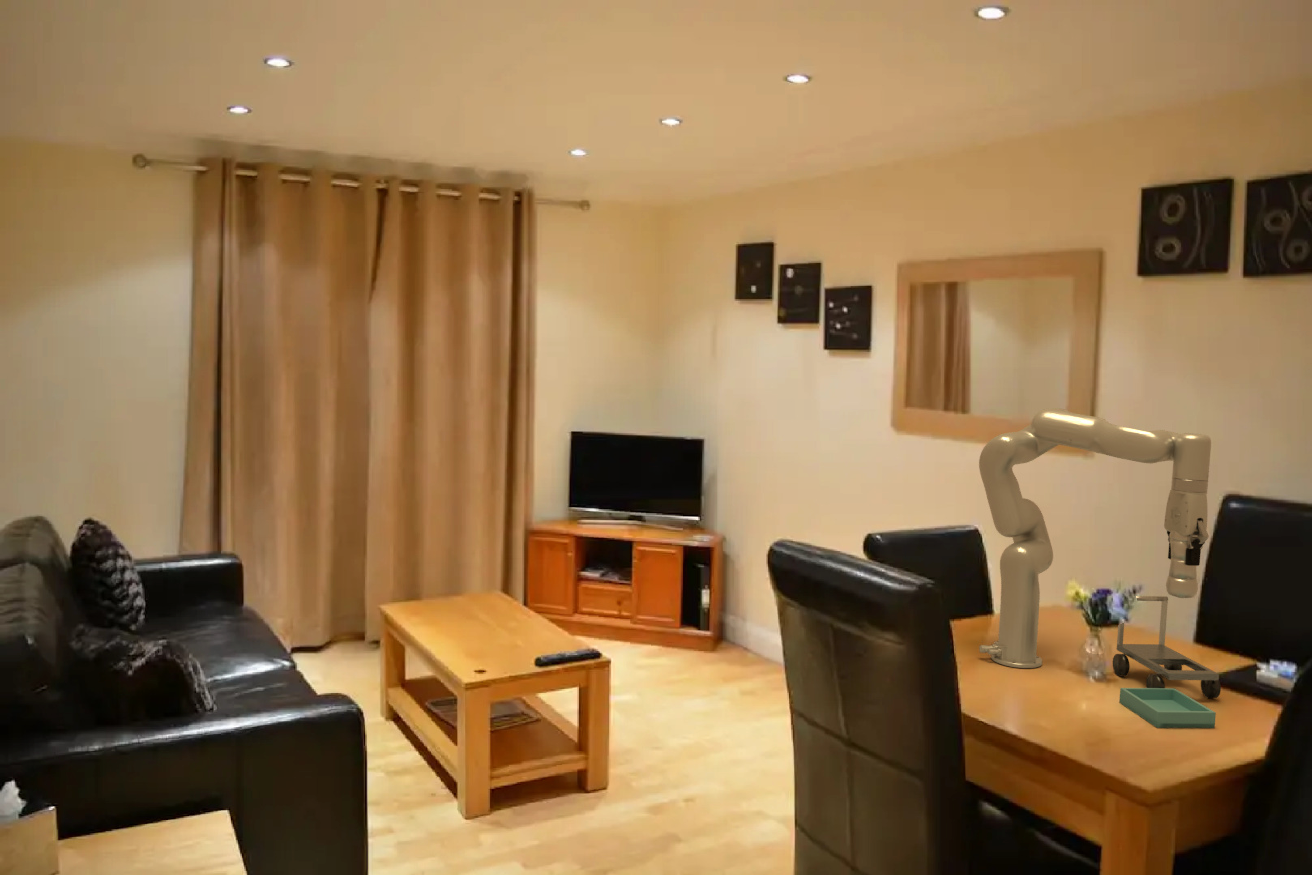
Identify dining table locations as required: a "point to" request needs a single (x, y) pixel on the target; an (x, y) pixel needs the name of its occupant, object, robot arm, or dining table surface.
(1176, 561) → the plastic bottle
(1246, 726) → the dining table surface
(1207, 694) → the trolley
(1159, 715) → the tray
